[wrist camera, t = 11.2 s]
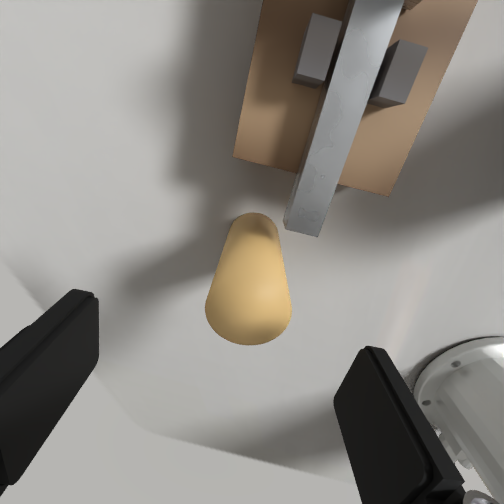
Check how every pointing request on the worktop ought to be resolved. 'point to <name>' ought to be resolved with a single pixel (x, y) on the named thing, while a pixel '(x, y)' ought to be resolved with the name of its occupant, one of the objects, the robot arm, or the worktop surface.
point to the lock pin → (341, 108)
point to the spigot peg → (250, 284)
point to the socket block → (313, 76)
